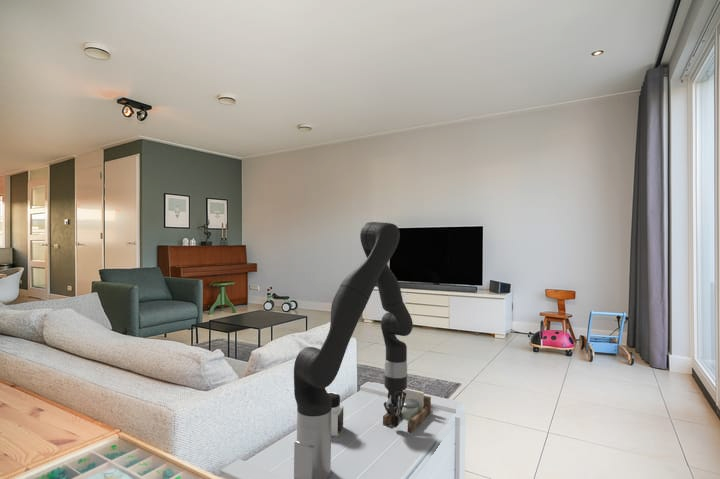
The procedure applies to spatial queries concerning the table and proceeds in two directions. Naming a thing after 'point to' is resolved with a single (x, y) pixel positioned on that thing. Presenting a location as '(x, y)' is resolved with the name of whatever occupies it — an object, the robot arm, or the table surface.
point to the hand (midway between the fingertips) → (394, 425)
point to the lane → (417, 418)
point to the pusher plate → (415, 397)
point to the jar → (409, 409)
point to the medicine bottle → (336, 414)
